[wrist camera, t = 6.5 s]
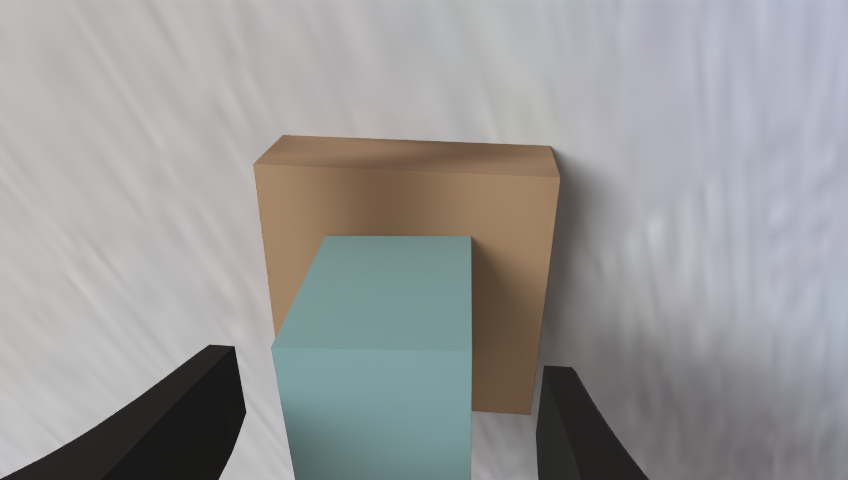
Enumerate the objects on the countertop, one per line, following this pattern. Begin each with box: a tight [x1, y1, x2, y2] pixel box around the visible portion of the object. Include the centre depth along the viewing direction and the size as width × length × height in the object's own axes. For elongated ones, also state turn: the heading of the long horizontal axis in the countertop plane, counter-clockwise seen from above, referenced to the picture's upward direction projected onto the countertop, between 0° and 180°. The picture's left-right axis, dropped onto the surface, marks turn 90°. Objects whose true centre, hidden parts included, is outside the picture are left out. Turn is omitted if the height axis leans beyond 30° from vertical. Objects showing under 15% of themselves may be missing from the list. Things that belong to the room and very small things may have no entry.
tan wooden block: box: [253, 135, 560, 415], centre depth 18 cm, size 8×8×3 cm
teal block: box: [271, 236, 472, 480], centre depth 15 cm, size 4×4×5 cm
